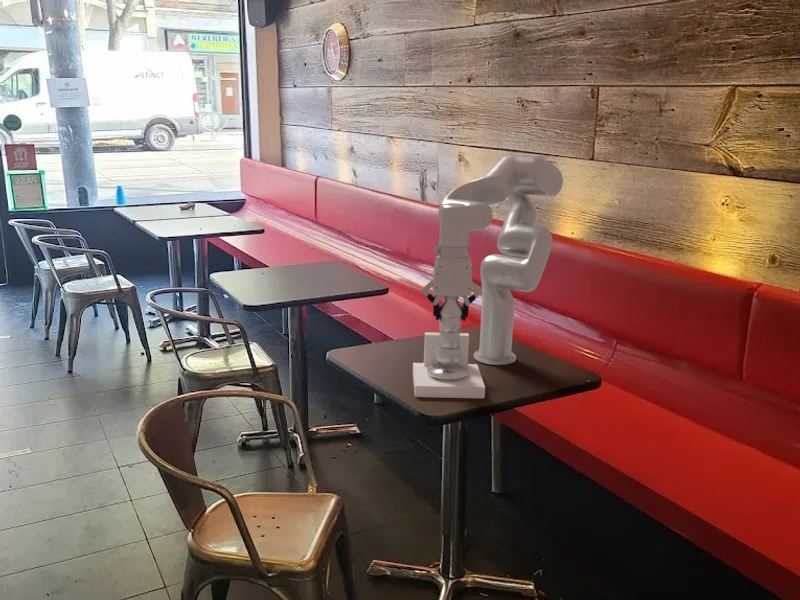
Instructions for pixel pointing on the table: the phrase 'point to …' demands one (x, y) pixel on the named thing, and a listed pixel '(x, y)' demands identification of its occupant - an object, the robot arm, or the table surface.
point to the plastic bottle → (449, 331)
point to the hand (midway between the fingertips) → (450, 318)
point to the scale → (446, 388)
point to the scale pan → (447, 371)
